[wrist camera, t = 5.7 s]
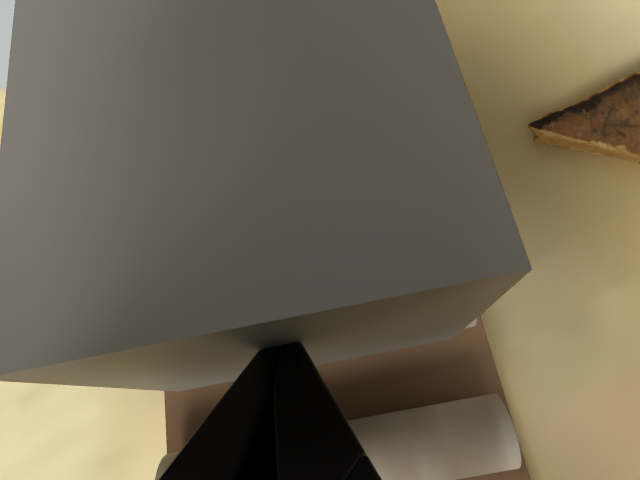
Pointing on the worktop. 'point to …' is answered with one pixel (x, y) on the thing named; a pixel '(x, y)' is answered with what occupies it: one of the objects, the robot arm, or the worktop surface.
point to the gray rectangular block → (238, 188)
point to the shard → (598, 122)
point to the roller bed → (376, 386)
